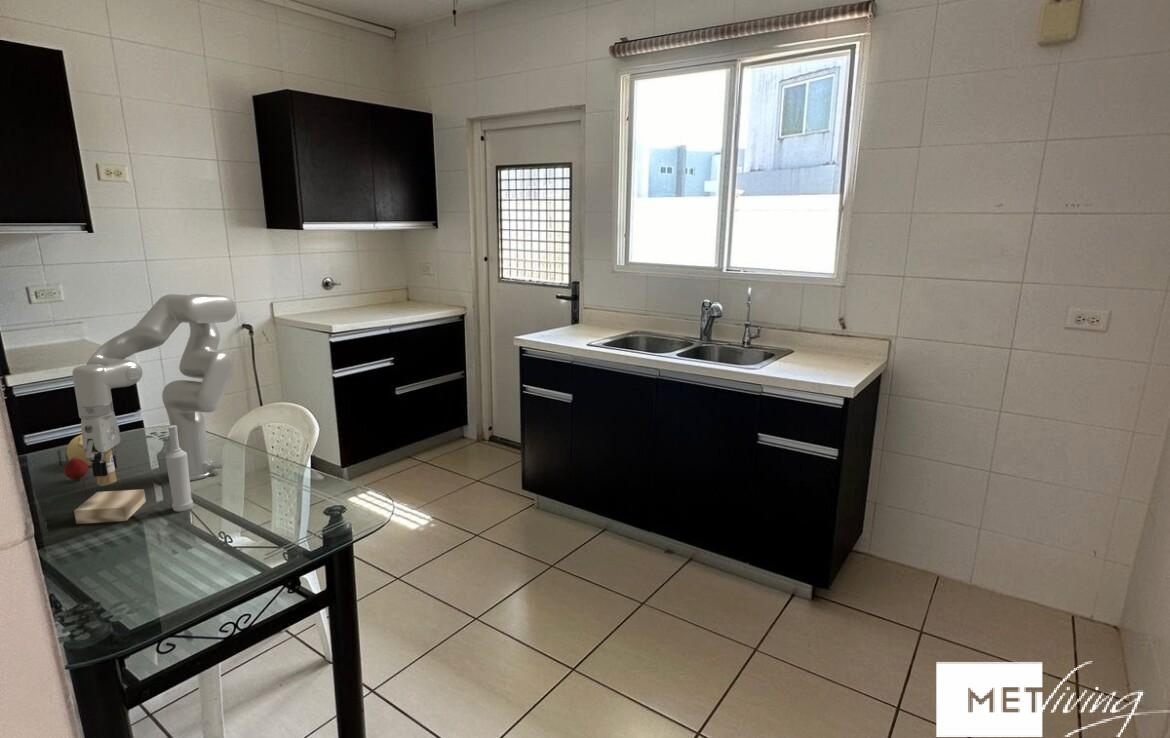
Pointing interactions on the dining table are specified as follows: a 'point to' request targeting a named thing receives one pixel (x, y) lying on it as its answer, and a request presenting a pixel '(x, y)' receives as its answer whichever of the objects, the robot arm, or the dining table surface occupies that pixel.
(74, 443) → the sculpture
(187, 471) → the bottle
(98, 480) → the sprinkles bottle
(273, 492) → the dining table surface
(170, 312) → the robot arm
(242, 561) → the dining table surface
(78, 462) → the red rounded lump
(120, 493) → the wooden base
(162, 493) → the dining table surface
